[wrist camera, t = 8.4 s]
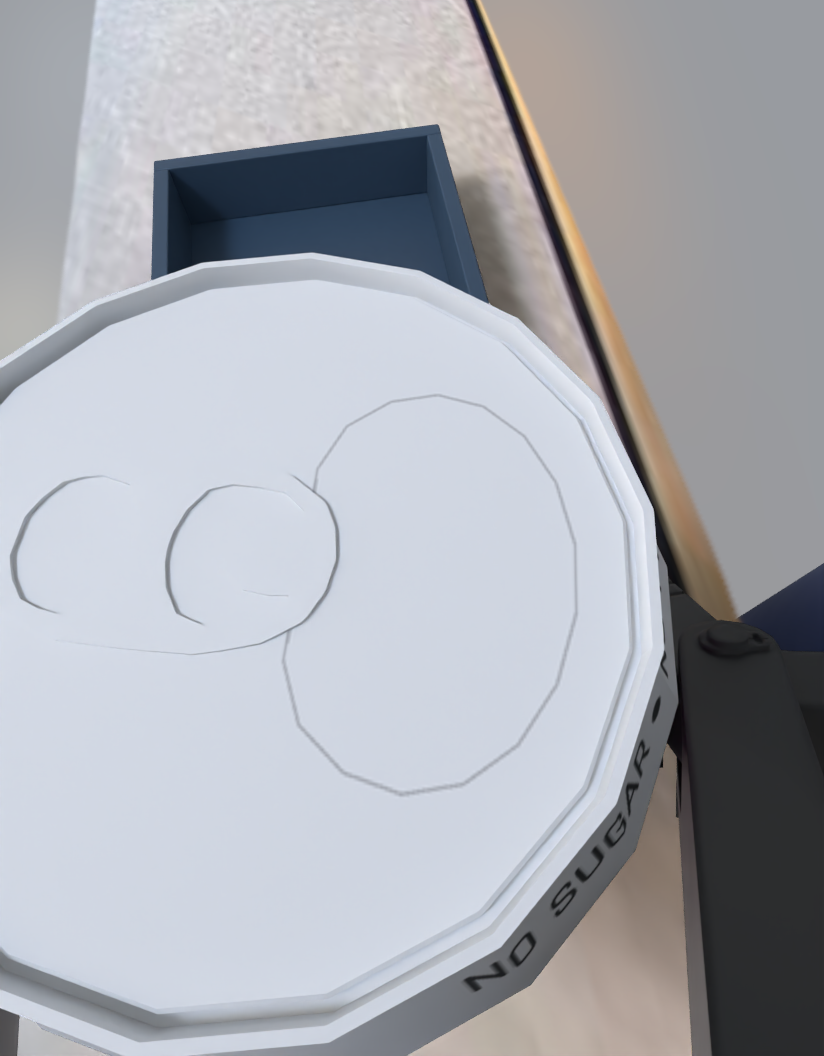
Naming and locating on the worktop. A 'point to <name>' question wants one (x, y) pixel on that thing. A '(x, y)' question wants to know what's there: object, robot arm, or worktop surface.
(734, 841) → the robot arm
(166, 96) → the worktop surface
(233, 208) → the blue open tray
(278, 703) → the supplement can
